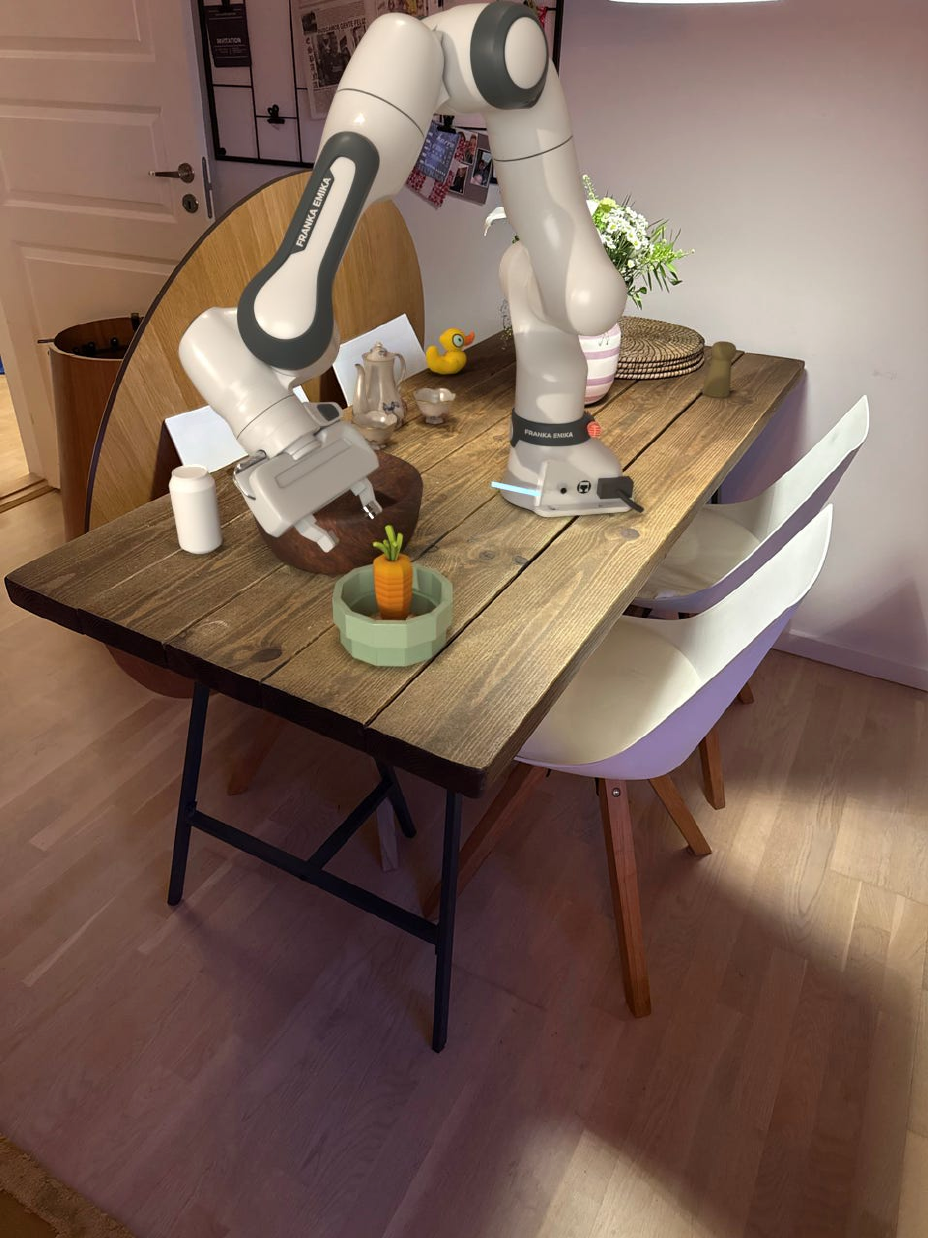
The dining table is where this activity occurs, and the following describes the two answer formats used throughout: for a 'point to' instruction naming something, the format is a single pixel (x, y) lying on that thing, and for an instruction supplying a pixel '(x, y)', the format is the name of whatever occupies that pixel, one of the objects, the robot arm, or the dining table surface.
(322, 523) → the wooden bowl
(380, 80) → the robot arm
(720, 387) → the olive brown knobbed cylinder
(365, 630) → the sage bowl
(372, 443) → the chinaware
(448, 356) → the duckling
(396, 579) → the carrot
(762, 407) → the dining table surface
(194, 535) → the beverage can
